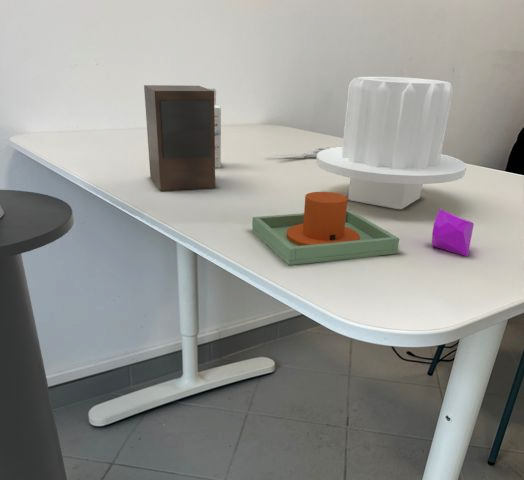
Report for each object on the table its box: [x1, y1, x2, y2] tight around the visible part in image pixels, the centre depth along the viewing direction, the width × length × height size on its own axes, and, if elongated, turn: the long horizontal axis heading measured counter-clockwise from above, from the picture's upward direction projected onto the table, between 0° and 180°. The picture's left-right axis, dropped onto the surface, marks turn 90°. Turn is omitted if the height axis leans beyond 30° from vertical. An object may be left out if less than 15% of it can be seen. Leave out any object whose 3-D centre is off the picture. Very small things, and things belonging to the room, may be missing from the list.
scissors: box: [272, 146, 331, 160], centre depth 125 cm, size 11×1×20 cm
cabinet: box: [143, 84, 216, 192], centre depth 96 cm, size 10×10×16 cm
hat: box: [286, 191, 360, 246], centre depth 72 cm, size 10×10×6 cm
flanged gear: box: [315, 75, 467, 210], centre depth 90 cm, size 25×25×19 cm
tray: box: [251, 209, 400, 266], centre depth 73 cm, size 16×14×2 cm
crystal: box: [431, 208, 474, 257], centre depth 72 cm, size 5×5×5 cm
